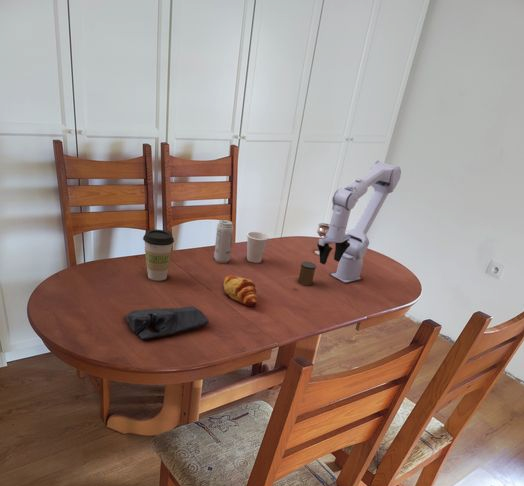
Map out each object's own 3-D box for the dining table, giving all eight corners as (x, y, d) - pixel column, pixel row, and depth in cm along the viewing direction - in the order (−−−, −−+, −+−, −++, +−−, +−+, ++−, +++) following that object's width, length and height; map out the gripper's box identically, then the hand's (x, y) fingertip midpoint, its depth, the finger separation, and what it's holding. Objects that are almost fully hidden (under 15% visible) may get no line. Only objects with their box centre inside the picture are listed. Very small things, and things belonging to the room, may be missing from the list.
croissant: (218, 291, 166) (209, 273, 160) (241, 277, 167) (234, 259, 162) (246, 319, 151) (238, 301, 145) (272, 303, 152) (265, 284, 147)
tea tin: (305, 278, 179) (308, 260, 175) (315, 284, 175) (319, 266, 172) (294, 280, 175) (298, 262, 172) (305, 286, 172) (308, 268, 168)
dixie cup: (249, 264, 182) (253, 239, 176) (240, 256, 188) (243, 231, 182) (268, 263, 186) (272, 238, 180) (258, 255, 192) (262, 231, 186)
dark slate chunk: (214, 332, 135) (215, 318, 133) (137, 343, 125) (138, 327, 122) (194, 307, 146) (195, 293, 144) (122, 315, 136) (122, 300, 133)
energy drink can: (229, 264, 179) (233, 225, 171) (213, 262, 178) (217, 223, 170) (230, 258, 184) (234, 220, 176) (214, 256, 184) (218, 218, 176)
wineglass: (312, 248, 208) (318, 222, 201) (327, 251, 208) (333, 224, 201) (312, 254, 202) (318, 226, 196) (327, 257, 202) (334, 229, 196)
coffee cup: (136, 277, 158) (136, 233, 150) (153, 268, 166) (154, 226, 158) (161, 285, 155) (163, 242, 147) (177, 276, 163) (179, 234, 155)
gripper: (343, 219, 170) (334, 255, 177) (315, 223, 161) (307, 260, 169) (358, 226, 166) (348, 262, 173) (330, 230, 157) (322, 268, 164)
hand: (329, 262), depth 171 cm, fingers open, 7 cm apart
